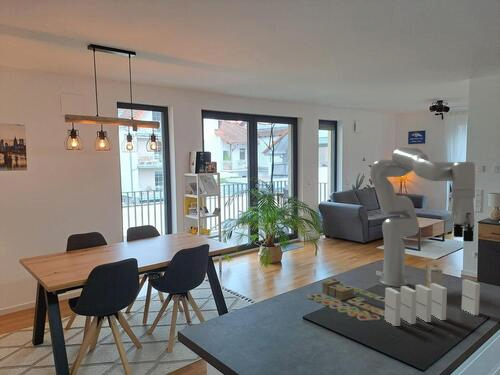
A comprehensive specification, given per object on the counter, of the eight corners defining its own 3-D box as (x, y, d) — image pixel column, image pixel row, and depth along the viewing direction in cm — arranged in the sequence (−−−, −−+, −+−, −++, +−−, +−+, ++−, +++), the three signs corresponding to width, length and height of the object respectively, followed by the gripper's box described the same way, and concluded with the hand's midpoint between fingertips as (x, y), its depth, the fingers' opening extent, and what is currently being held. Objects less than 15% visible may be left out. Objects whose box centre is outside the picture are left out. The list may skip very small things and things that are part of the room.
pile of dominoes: (302, 298, 159) (303, 285, 158) (345, 286, 174) (345, 275, 174) (370, 327, 130) (370, 312, 130) (414, 310, 145) (414, 296, 145)
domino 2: (410, 325, 131) (411, 291, 130) (399, 318, 137) (400, 286, 136) (415, 324, 131) (416, 291, 131) (404, 317, 137) (405, 286, 136)
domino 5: (474, 315, 139) (475, 284, 138) (461, 309, 145) (462, 279, 144) (478, 315, 140) (480, 283, 139) (465, 309, 145) (466, 279, 145)
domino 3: (426, 323, 132) (427, 290, 132) (414, 316, 138) (415, 285, 138) (431, 322, 133) (432, 289, 132) (419, 315, 139) (420, 284, 138)
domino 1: (395, 327, 129) (395, 293, 128) (384, 320, 135) (385, 288, 134) (400, 326, 130) (401, 292, 129) (389, 319, 135) (390, 287, 135)
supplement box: (442, 300, 155) (443, 269, 154) (429, 299, 156) (430, 269, 155) (436, 293, 163) (437, 264, 162) (424, 293, 164) (425, 264, 163)
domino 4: (441, 321, 134) (442, 288, 133) (429, 314, 140) (430, 283, 139) (445, 320, 135) (447, 288, 134) (433, 314, 141) (434, 283, 140)
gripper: (444, 193, 150) (444, 235, 150) (461, 195, 133) (461, 242, 133) (465, 193, 148) (464, 235, 149) (484, 195, 131) (484, 243, 132)
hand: (463, 239), depth 141 cm, fingers open, 9 cm apart
